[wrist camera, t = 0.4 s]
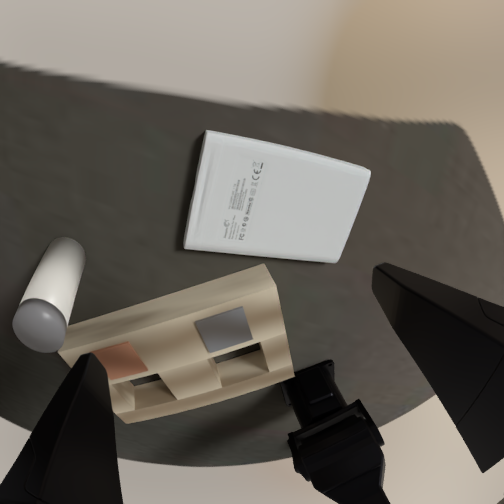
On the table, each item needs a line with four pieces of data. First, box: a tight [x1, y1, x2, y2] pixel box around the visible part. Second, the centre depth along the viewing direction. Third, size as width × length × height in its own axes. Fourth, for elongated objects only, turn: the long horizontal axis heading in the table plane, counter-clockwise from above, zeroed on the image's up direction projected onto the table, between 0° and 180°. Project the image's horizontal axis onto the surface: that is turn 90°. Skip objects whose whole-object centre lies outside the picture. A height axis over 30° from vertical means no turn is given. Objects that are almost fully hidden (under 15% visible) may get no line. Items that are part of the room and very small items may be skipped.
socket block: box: [58, 263, 295, 424], centre depth 26 cm, size 12×18×3 cm, turn 103°
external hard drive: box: [183, 130, 371, 263], centre depth 23 cm, size 2×8×12 cm
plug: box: [13, 237, 86, 353], centre depth 17 cm, size 3×3×8 cm
